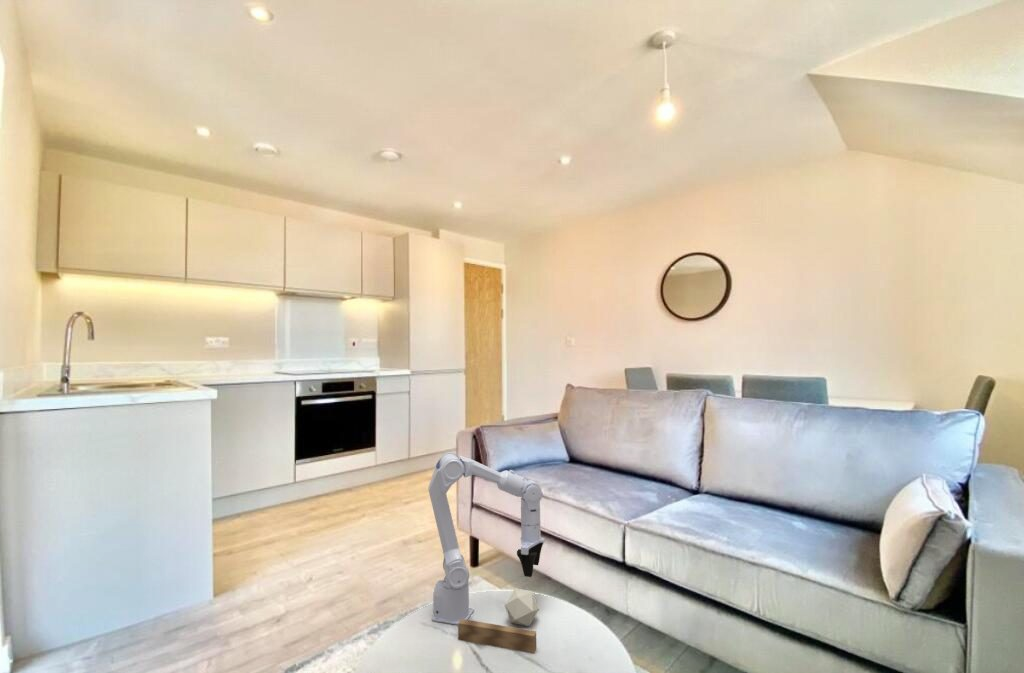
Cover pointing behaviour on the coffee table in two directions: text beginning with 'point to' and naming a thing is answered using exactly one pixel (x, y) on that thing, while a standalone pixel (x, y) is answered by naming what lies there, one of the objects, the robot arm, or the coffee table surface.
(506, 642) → the walnut board
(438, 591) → the robot arm
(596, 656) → the coffee table surface
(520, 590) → the die
